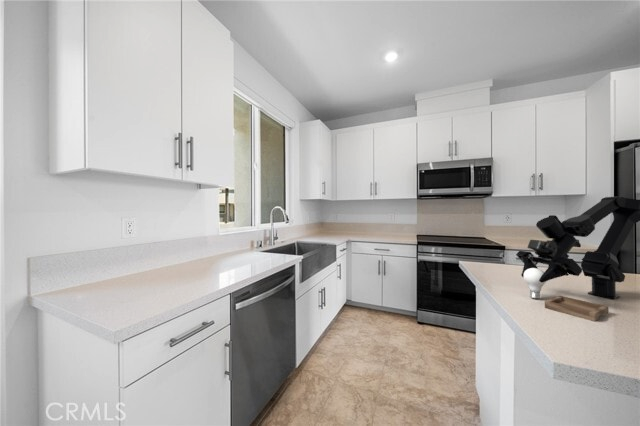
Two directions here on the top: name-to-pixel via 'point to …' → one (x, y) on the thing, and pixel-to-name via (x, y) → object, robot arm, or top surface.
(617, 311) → the top surface
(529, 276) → the lightbulb
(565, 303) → the walnut tray
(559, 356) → the top surface
